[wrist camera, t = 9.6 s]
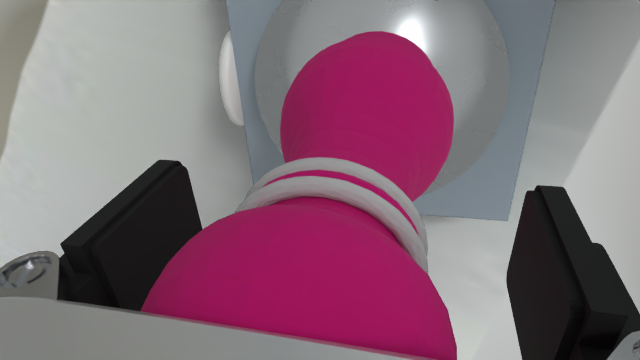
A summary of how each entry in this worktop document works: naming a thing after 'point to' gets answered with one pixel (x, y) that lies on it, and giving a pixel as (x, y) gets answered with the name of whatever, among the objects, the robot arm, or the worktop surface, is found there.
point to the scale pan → (419, 27)
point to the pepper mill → (334, 212)
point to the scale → (471, 186)
